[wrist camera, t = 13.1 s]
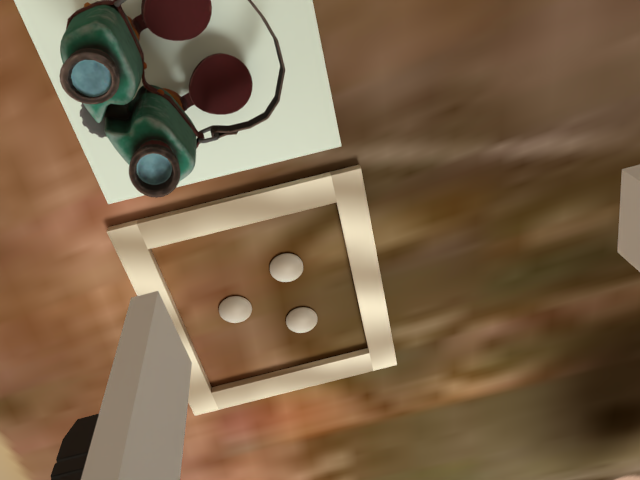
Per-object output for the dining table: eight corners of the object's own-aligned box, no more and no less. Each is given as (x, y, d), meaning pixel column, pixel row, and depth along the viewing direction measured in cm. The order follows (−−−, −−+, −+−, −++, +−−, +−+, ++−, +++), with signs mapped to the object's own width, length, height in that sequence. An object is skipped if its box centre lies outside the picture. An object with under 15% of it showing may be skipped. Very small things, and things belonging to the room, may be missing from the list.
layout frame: (395, 359, 47) (397, 364, 47) (195, 410, 47) (194, 415, 46) (359, 164, 38) (361, 168, 37) (108, 227, 37) (106, 231, 37)
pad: (338, 140, 36) (341, 146, 36) (111, 196, 36) (108, 204, 36) (279, -158, 28) (280, -160, 27) (-18, -86, 28) (-26, -85, 27)
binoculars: (335, 134, 25) (134, 241, 25) (290, 79, 34) (143, 159, 34) (234, -80, 20) (-11, 55, 20) (214, -77, 29) (44, 16, 29)
